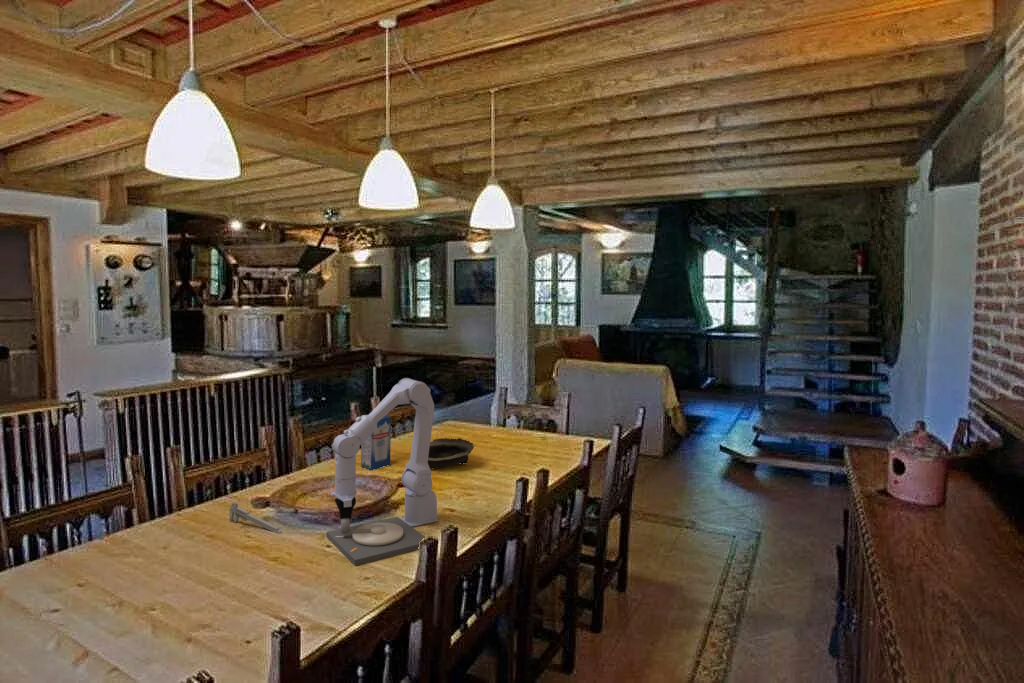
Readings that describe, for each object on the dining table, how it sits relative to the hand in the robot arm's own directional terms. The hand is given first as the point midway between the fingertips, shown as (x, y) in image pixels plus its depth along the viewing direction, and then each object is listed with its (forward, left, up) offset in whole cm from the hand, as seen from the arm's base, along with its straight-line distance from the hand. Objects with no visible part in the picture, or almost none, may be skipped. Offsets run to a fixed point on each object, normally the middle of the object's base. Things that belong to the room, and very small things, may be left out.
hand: (345, 523), depth 172 cm
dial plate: (-6, +8, -4) cm, 11 cm away
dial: (-5, +7, -2) cm, 9 cm away
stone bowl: (-59, -49, -4) cm, 77 cm away
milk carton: (-35, -62, -4) cm, 71 cm away
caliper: (+20, -22, -4) cm, 30 cm away
